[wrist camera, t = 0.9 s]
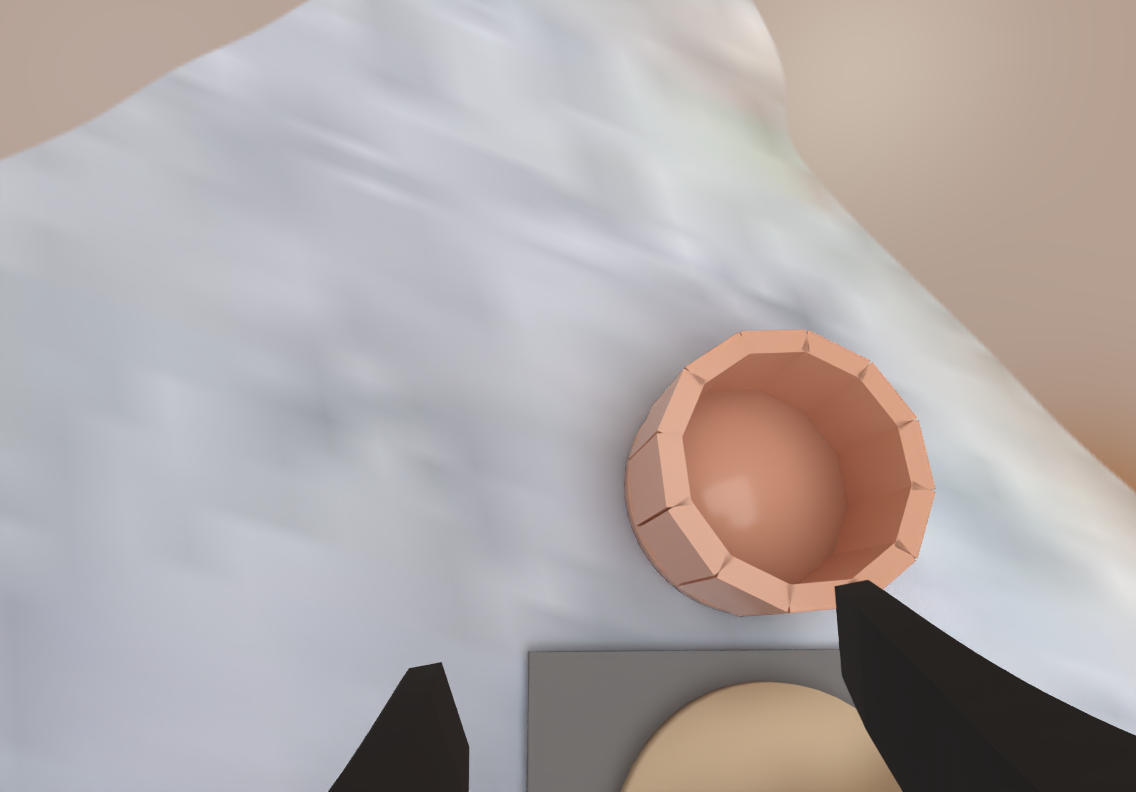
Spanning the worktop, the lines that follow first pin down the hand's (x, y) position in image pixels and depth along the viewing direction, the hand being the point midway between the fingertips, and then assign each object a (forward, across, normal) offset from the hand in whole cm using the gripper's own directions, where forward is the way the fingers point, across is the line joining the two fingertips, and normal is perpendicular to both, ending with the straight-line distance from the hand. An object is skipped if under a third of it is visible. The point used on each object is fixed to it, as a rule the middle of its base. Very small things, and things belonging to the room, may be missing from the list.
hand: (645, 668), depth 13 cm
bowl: (+14, -5, +5) cm, 16 cm away
